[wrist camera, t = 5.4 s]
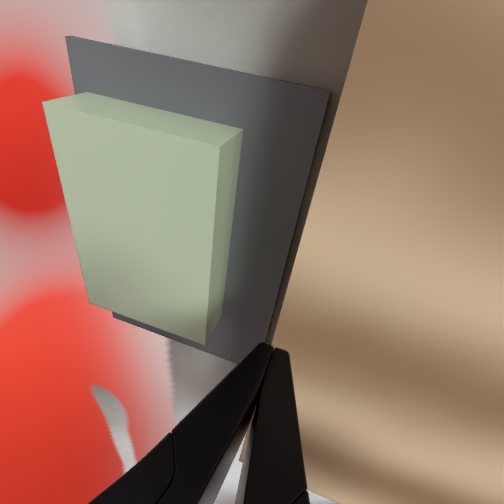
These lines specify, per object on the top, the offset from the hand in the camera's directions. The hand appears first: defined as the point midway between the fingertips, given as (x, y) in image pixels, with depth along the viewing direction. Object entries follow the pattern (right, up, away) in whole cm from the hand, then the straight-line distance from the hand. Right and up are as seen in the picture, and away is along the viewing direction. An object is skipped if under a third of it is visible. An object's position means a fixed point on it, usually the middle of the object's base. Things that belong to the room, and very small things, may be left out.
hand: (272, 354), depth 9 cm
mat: (-3, +3, +5) cm, 7 cm away
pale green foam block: (-5, +3, +3) cm, 7 cm away
